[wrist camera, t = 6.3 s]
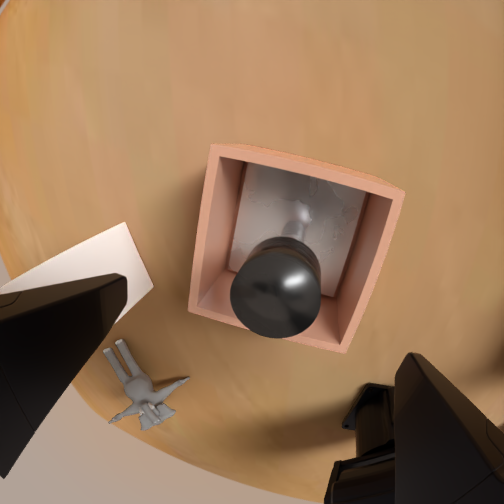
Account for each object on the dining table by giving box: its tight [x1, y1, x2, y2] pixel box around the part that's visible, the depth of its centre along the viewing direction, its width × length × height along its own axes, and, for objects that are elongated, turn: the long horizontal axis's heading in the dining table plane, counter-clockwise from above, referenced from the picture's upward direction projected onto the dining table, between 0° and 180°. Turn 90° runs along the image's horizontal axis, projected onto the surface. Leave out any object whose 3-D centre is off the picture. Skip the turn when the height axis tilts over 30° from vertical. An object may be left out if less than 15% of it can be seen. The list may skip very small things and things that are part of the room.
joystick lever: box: [228, 162, 366, 338], centre depth 15 cm, size 7×7×10 cm
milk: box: [0, 222, 154, 324], centre depth 14 cm, size 6×6×22 cm
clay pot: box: [188, 144, 406, 354], centre depth 17 cm, size 9×9×6 cm
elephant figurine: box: [103, 339, 190, 430], centre depth 26 cm, size 10×6×9 cm
